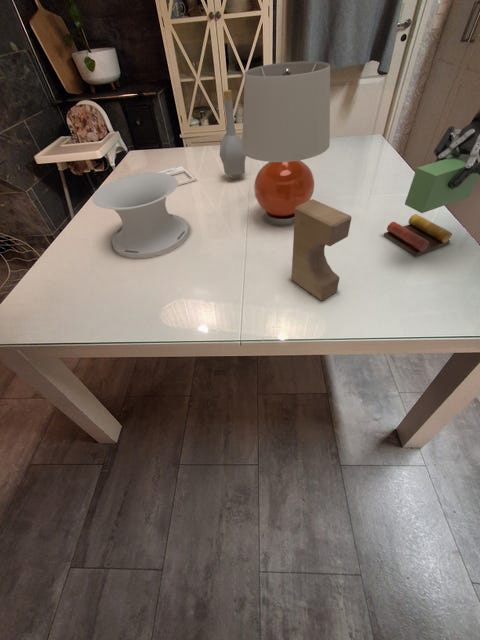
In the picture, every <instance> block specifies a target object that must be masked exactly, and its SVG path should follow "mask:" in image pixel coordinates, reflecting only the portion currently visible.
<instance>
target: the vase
mask: <svg viewBox="0 0 480 640" xmlns="http://www.w3.org/2000/svg"><path fill="white" fill-rule="evenodd" d="M157 172H158V171H157ZM157 172H156V171H155V172H153V171H151V172H139V173H134V174H129V175H126V176H125V175H124V176H121V177H119V178H116V179H113V180H111V181H109V182H107V183H105V184H103V185H102V186H101V187H99V188H98V189H97V190H96V191H95V192H94V193H93V195H92V199H91V200H92V202H93V204H94V205H95V206H97V207H99V208H102V209H106V210H113V211H115V212H116V213H117V214H118V216H119V217H120V219H121V224H122V225H121V226H120V227H118V228H117V230H116V231H115V232H114V233H113V235H112V237H111V245H112V246H113V249H114V251H115V252H117V254H119V255H120V256H122V257H125V258H129V259H148V258H154V257H159V256H162V255H164V254H168V253H169V252H172V251H173V250H175V249H177V248H178V247H180V246H181V245H182V244H183V243H185V241H186V240H187V238H188V237H189V234H190V229H189V224H188V222H187V221H186V219H185V218H183V217H181V216H180V215H177V214H172V213H169V211H168V210H167V205H166V199H167V197H168V196H170V195H171V194H172V193H174V191H176V190H177V188H178V186H179V185H178V182H179V180H178V179H177V178H176V177H175V176H174V175H169V174H165V173H157Z"/></svg>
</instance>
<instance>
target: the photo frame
mask: <svg viewBox="0 0 480 640" xmlns="http://www.w3.org/2000/svg"><path fill="white" fill-rule="evenodd" d="M177 167H178V168H176V167H173V168H168V169H165V170H161V171H157V173H165V174H169V175H172V176H175V175H179V174H182V173H185V174H186V175H187V176H188V177H189V179H185V180H182V181H178V186H181V185H184V184H188V183H192V182H195V181H196V178H195V176H194V175H192V174H191V173H190V172H189V171H188V170H187V169H186V168H185V167H183V166H182V165H180V166H177Z"/></svg>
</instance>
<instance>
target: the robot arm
mask: <svg viewBox="0 0 480 640" xmlns="http://www.w3.org/2000/svg"><path fill="white" fill-rule="evenodd" d="M457 148H458V149H457ZM433 154H434V155H435V157H436V159H435V161H434V162H438V161H441V160H444V159H447V158H451V157H452V158H453V157H459V156H460V155H462V154H467V155H469V156H470V157H469V159H468V161H467V163H466V165H465V168H463V167H462V168H461V170H460V171H459V172H458V173H457V174H456V175H455V176H454V177H453V178H452V179H451V180H450V181H449V183H448V186H449V188H450V189H454V188H455V187H456V188H457V187H458V186H460V185H461V183H462V182H463V181H464V180H465V179H466V178H467V177H468V176H469V175H471V174H473V173H478V174H479V175H480V109H479V110H478V111H477V112H476V114H475V115H474V116H473V118H472V120H471V121H470V123H468V124H467V125H465V126H463V128H461V129H460V128H455V127H454V125H452V126H449V127H448V128H447V129H446V131H445V133H444V134H443V135H442V137H441V139H440V140H439V142H438V144H437V146H436V147H435V148H434V149H433Z"/></svg>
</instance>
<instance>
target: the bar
mask: <svg viewBox="0 0 480 640" xmlns="http://www.w3.org/2000/svg"><path fill="white" fill-rule="evenodd" d="M469 157H470V156H469V155H467V154H462V155H460V156H459V157H453V158H452V157H451V158H447V159H444V160H441V161H438V162H435V161H434V162H431V163H428V164H424V165H421V166H417V167H416V170H415V172H414V175H413V177H412V181H411V183H410V186H409V189H408V192H407V196H406V199H405V202H404V205H405V206H407V207H409V208H411V209H413V210H415V211H417V212H418V213H420V214H424V213H427V212H430V211H432V210H435V209H439V208H441V207H444V206H447V205H450V204H452V203H455V202H458V201H461V200H464V199H467V198H469V197H470V196H471V195H472V192H473V190H474V188H475V186H476V184H477V182H478V180H479V178H480V175H479V174H478V173H473V174H471V175H469V176H468V177H467V178H466V179H465V180H464V181H463V182H462V183H461V185H460V186H458V187H457V188H456V187H455V188H454V189H450V188H449V186H448V183H449V181H450V180H451V179H452V178H453V177H454V176H455V175H456V174H457V173H458V172H459V171H460V170H461V168H462V167H463V168H465V165H466V163H467V161H468V159H469Z"/></svg>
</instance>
